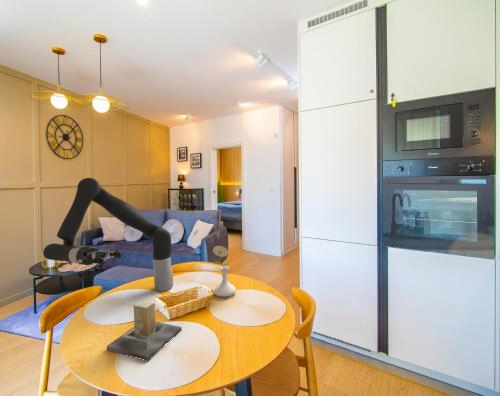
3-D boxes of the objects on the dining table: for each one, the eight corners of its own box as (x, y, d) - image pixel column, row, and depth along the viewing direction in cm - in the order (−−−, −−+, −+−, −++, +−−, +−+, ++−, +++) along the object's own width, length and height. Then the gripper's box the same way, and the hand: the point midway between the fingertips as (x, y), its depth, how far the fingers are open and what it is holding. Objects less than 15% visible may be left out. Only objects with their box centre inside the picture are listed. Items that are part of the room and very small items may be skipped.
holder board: (145, 322, 105) (144, 314, 105) (181, 330, 99) (181, 321, 99) (106, 350, 88) (106, 340, 88) (148, 361, 82) (147, 351, 82)
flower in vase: (240, 292, 132) (239, 244, 131) (227, 300, 123) (225, 250, 121) (221, 287, 139) (219, 242, 138) (207, 295, 130) (205, 247, 128)
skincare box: (134, 337, 92) (132, 305, 92) (143, 331, 97) (141, 299, 96) (148, 341, 90) (146, 307, 89) (156, 334, 94) (155, 302, 94)
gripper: (66, 250, 101) (95, 253, 95) (98, 242, 114) (126, 244, 109) (67, 269, 102) (97, 273, 96) (99, 258, 115) (127, 261, 109)
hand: (112, 257), depth 102 cm, fingers open, 8 cm apart
